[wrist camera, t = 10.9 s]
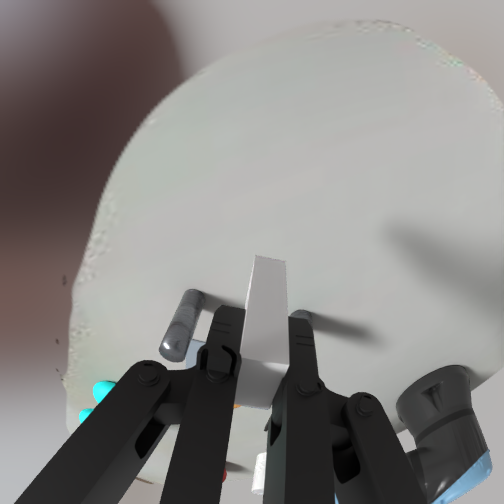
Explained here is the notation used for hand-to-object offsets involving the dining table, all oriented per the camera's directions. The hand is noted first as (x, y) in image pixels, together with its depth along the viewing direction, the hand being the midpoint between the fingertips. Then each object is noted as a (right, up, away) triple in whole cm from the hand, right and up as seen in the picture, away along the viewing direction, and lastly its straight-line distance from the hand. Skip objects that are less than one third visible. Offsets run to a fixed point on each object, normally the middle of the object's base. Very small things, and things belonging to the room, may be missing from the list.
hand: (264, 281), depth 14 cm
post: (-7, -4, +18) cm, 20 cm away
